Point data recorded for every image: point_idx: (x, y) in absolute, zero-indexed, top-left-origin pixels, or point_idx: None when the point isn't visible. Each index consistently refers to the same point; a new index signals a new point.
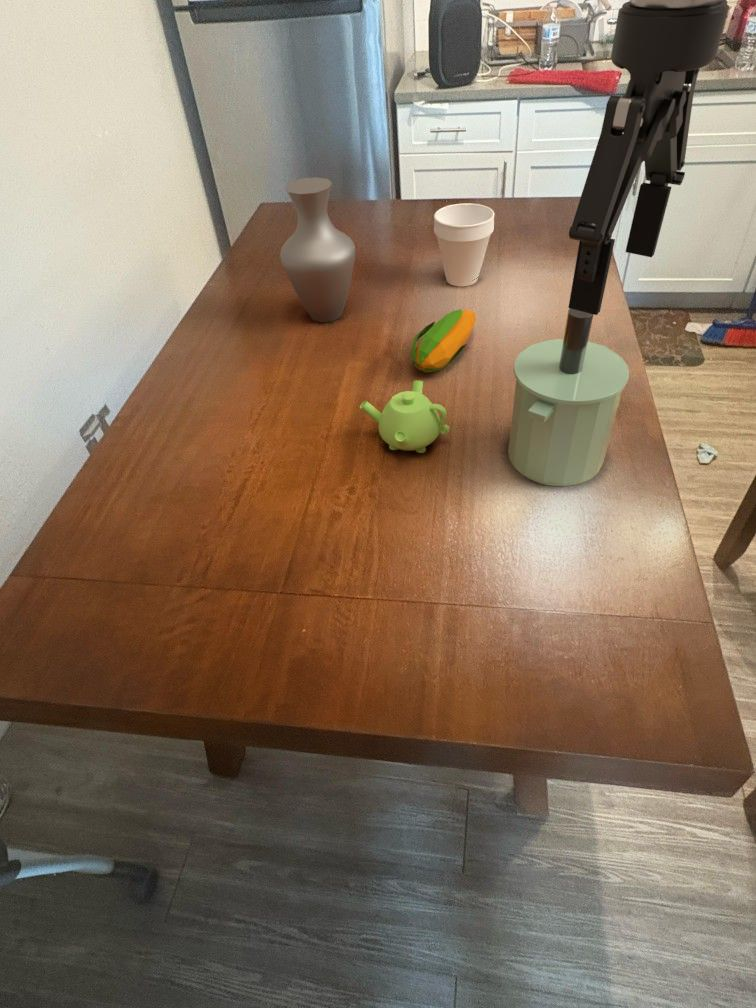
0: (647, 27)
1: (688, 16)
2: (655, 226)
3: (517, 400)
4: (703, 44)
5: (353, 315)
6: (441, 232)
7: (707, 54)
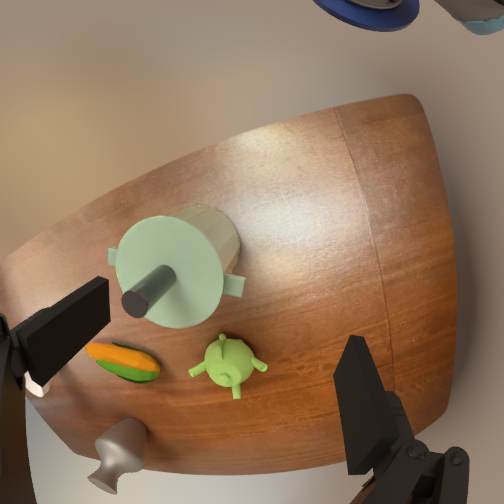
0: None
1: None
2: (75, 308)
3: None
4: None
5: (126, 411)
6: (46, 389)
7: None
